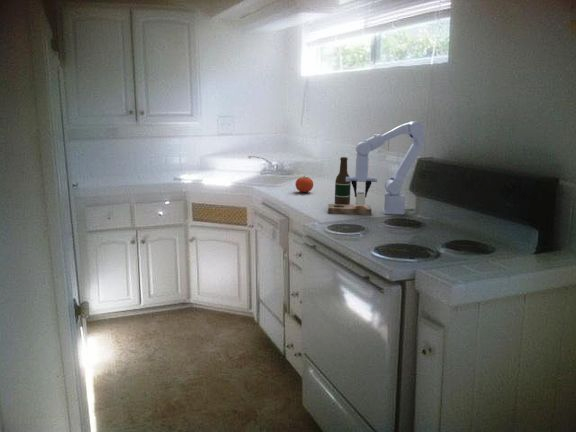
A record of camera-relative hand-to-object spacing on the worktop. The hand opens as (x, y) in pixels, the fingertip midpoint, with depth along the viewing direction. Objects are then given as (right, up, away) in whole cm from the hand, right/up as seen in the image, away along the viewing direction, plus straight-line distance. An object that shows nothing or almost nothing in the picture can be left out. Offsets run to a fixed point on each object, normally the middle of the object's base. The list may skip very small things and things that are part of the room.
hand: (360, 196), depth 246 cm
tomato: (-25, +4, +52) cm, 58 cm away
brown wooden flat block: (-5, -7, +2) cm, 9 cm away
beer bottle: (-7, -3, +20) cm, 21 cm away
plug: (0, -4, +1) cm, 4 cm away
